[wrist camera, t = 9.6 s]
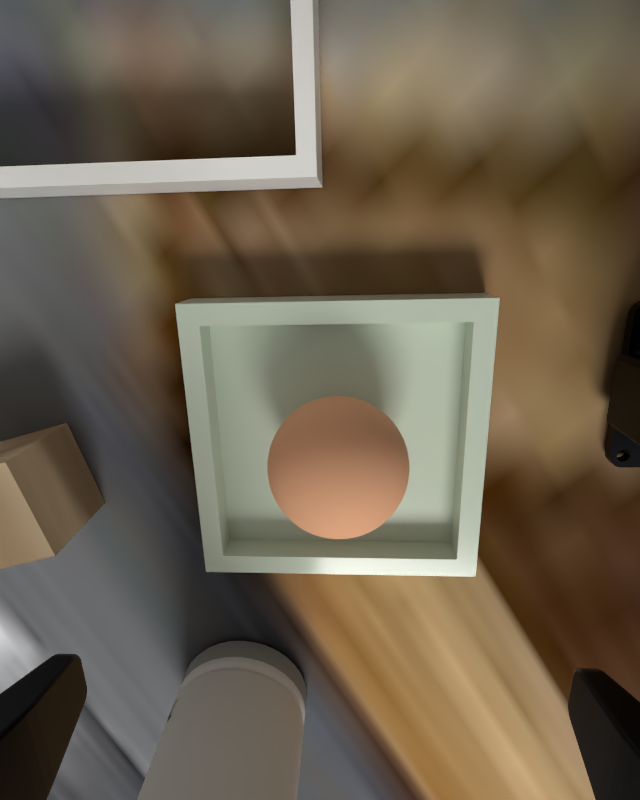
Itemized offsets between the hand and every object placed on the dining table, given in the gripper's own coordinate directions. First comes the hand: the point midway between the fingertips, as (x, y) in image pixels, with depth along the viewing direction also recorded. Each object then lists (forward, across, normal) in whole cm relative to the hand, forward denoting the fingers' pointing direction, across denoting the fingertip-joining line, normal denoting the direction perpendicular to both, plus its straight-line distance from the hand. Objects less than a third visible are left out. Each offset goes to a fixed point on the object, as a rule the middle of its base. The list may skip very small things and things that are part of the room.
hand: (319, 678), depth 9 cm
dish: (+12, 0, 0) cm, 12 cm away
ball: (+11, 0, 0) cm, 11 cm away
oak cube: (+12, +13, +2) cm, 18 cm away
